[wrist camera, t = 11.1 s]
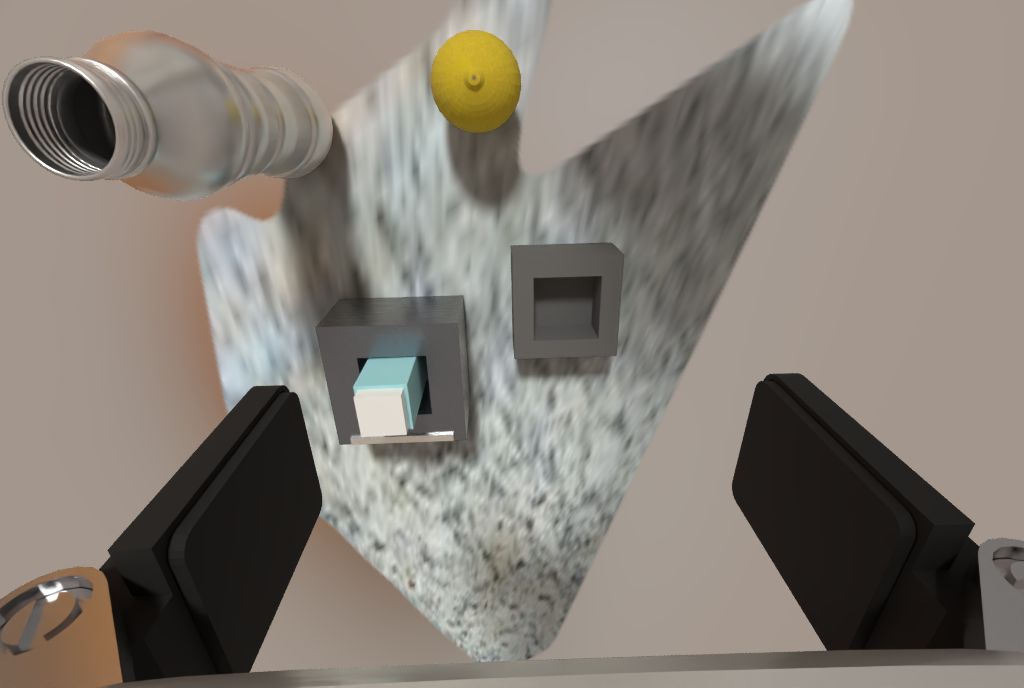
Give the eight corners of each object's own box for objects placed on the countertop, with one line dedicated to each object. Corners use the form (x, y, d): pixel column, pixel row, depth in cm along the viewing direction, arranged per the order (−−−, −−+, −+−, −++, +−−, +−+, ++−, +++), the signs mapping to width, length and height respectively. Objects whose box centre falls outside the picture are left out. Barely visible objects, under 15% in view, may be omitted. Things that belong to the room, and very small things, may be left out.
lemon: (529, 113, 34) (539, 110, 27) (457, 144, 35) (448, 149, 27) (500, 27, 32) (502, -2, 25) (424, 62, 33) (404, 43, 25)
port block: (340, 299, 39) (314, 328, 34) (463, 295, 39) (457, 323, 34) (359, 404, 43) (338, 446, 38) (470, 400, 44) (466, 441, 38)
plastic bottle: (243, 159, 35) (-35, 195, 16) (251, 55, 32) (-69, -38, 14) (333, 186, 36) (165, 249, 17) (348, 87, 33) (169, 40, 15)
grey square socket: (510, 245, 38) (512, 258, 34) (611, 242, 38) (624, 254, 34) (512, 338, 41) (514, 359, 38) (605, 335, 41) (616, 355, 38)
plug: (382, 332, 39) (348, 394, 30) (425, 330, 40) (404, 392, 30) (388, 370, 41) (358, 440, 32) (429, 368, 41) (410, 437, 32)
